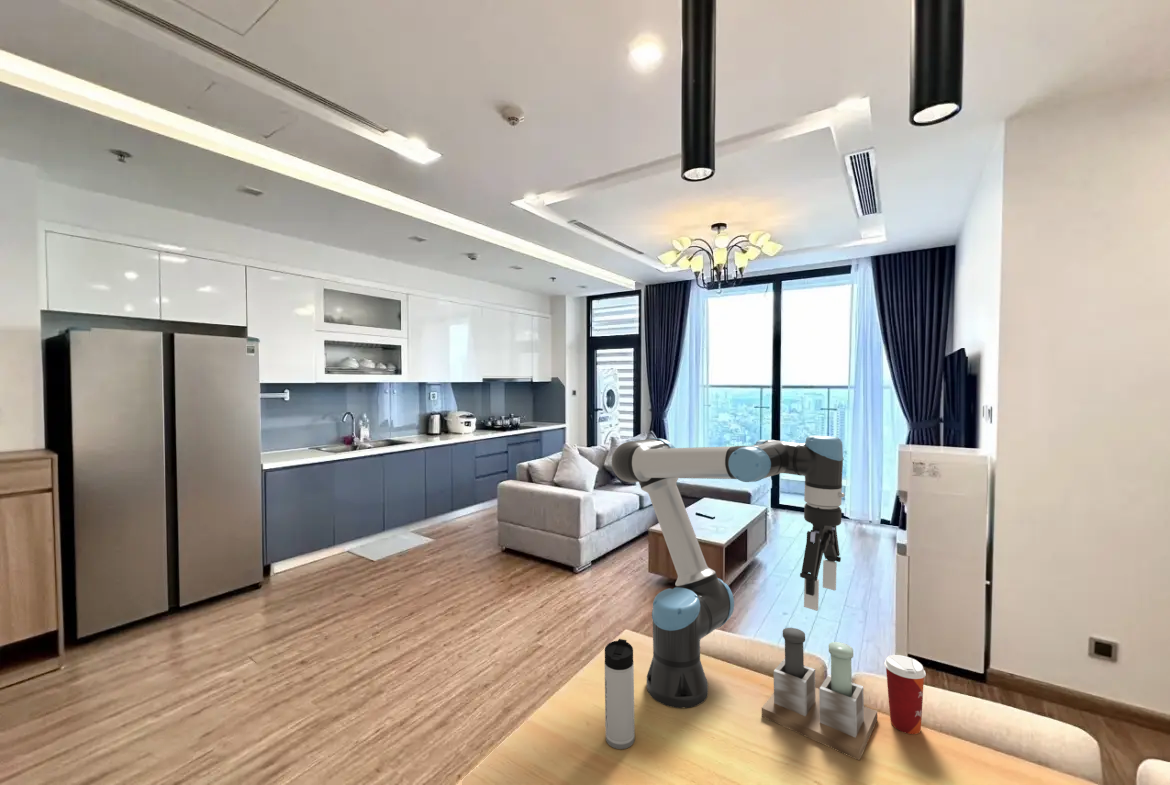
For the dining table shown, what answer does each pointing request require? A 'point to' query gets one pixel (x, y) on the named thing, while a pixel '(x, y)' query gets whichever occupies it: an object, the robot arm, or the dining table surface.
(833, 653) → the sage plug
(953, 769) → the dining table surface
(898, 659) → the paper cup
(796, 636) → the gray plug
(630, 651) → the travel mug
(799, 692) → the socket board
